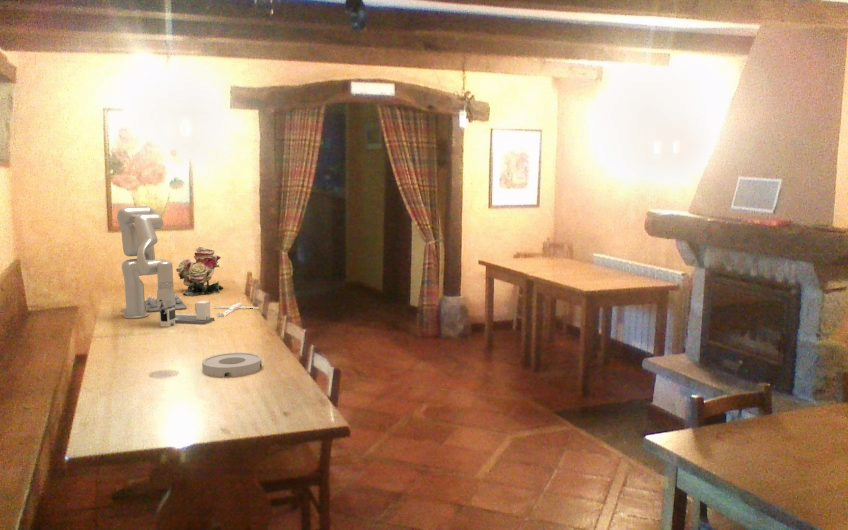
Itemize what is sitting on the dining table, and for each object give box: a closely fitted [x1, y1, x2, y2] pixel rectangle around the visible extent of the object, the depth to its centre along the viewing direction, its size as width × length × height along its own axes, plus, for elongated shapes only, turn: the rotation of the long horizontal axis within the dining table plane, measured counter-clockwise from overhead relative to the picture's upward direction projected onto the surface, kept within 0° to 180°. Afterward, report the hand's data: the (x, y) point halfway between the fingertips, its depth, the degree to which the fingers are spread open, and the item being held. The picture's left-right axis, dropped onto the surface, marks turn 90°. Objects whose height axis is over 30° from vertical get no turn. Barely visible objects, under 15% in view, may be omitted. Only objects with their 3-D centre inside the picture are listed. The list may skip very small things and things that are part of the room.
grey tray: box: [145, 294, 188, 313], centre depth 422 cm, size 30×22×7 cm
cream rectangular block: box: [159, 308, 176, 328], centre depth 371 cm, size 6×6×9 cm
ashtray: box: [201, 352, 263, 378], centre depth 291 cm, size 23×23×4 cm
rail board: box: [175, 300, 215, 325], centre depth 380 cm, size 25×10×11 cm, turn 77°
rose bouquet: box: [175, 246, 224, 297], centre depth 466 cm, size 26×29×30 cm
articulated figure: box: [212, 302, 260, 318], centre depth 406 cm, size 27×4×30 cm
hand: (167, 319), depth 371 cm, fingers closed on cream rectangular block, 5 cm apart
